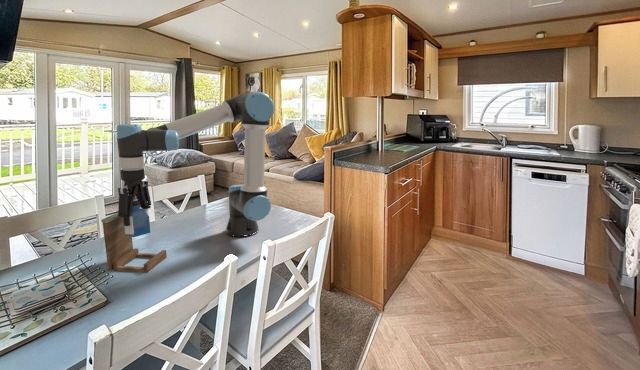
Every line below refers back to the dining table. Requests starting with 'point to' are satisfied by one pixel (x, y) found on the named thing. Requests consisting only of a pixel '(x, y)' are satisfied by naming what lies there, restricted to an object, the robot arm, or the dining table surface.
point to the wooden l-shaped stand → (124, 247)
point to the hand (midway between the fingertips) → (137, 229)
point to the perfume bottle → (139, 220)
